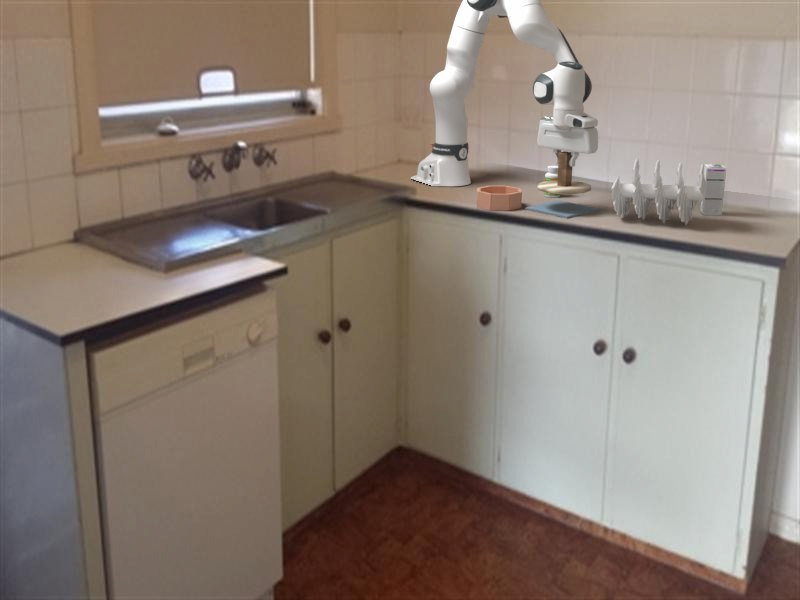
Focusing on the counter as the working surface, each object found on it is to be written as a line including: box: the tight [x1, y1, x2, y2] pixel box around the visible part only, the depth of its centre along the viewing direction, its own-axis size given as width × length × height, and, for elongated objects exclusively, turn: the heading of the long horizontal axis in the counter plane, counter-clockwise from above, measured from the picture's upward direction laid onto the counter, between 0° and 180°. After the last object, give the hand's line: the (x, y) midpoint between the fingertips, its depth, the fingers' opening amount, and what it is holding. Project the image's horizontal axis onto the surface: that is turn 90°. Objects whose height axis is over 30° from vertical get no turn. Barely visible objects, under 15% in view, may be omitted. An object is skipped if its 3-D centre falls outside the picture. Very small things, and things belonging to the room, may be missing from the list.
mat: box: [524, 199, 601, 219], centre depth 265 cm, size 16×16×1 cm
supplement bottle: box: [543, 165, 562, 199], centre depth 283 cm, size 5×5×10 cm
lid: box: [537, 150, 592, 195], centre depth 262 cm, size 16×16×11 cm
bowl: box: [476, 185, 523, 212], centre depth 270 cm, size 14×14×5 cm
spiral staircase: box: [610, 158, 705, 226], centre depth 250 cm, size 18×18×25 cm
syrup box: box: [699, 163, 727, 217], centre depth 258 cm, size 6×6×14 cm
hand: (565, 165), depth 261 cm, fingers closed on lid, 3 cm apart
